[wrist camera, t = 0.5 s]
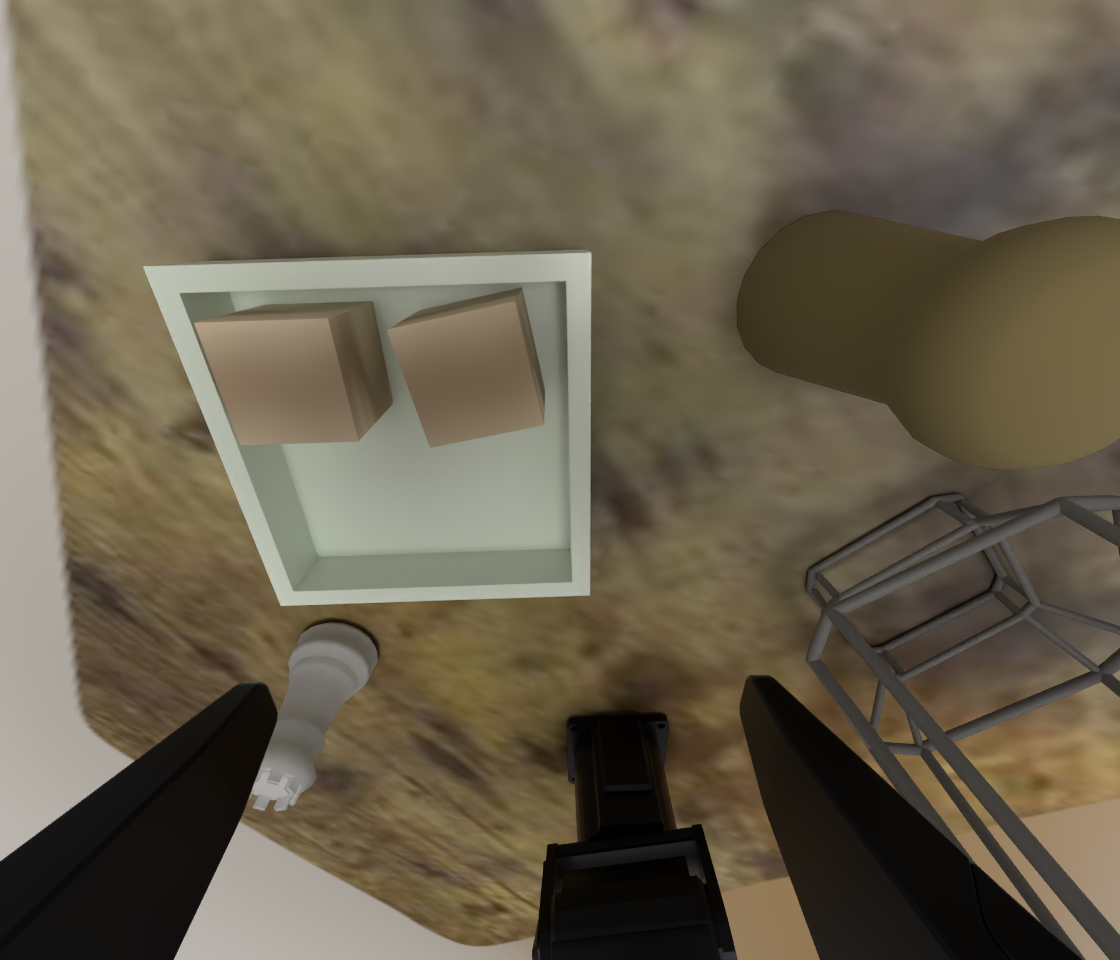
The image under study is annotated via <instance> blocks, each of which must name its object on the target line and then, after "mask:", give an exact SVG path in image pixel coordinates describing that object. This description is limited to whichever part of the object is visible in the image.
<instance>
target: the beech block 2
mask: <svg viewBox="0 0 1120 960" xmlns="http://www.w3.org/2000/svg"><path fill="white" fill-rule="evenodd" d="M387 332H388V335H389V338H390V340H391V343H392V346H393V348H394V351H395V354H396V357H397V359H398V362H399V365H400V367H401V370H402V373H403V376H404V378H405V381H406V384H407V387H408V389H409V392H410V395H411V397H412V400H413V403H414V406H415V408H416V411H417V414H418V416H419V419H420V422H421V425H422V427H423V430H424V433H425V436H426V438H427V441H428V444H429V446H430V448H432V447H437V446H442V445H447V444H452V443H457V442H462V441H467V440H472V439H477V438H482V437H488V436H493V435H498V434H503V433H508V432H513V431H518V430H523V429H528V428H533V427H538V426H543V425H544V412H545V387H544V382H543V378H542V373H541V369H540V364H539V360H538V356H537V351H536V347H535V342H534V338H533V333H532V329H531V325H530V320H529V316H528V311H527V307H526V302H525V298H524V294H523V289H522V287H521V288H517V289H512V290H508V291H503V292H499V293H494V294H490V295H485V296H481V297H476V298H472V299H467V300H463V301H458V302H454V303H449V304H445V305H440V306H436V307H432V308H427V309H423V310H419V311H417V312H416V313H414V314H412V315H411V316H409V317H407V318H406V319H404V320H402V321H401V322H399V323H397V324H396V325H394V326H392V327H391V328H389V329H387Z"/></svg>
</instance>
